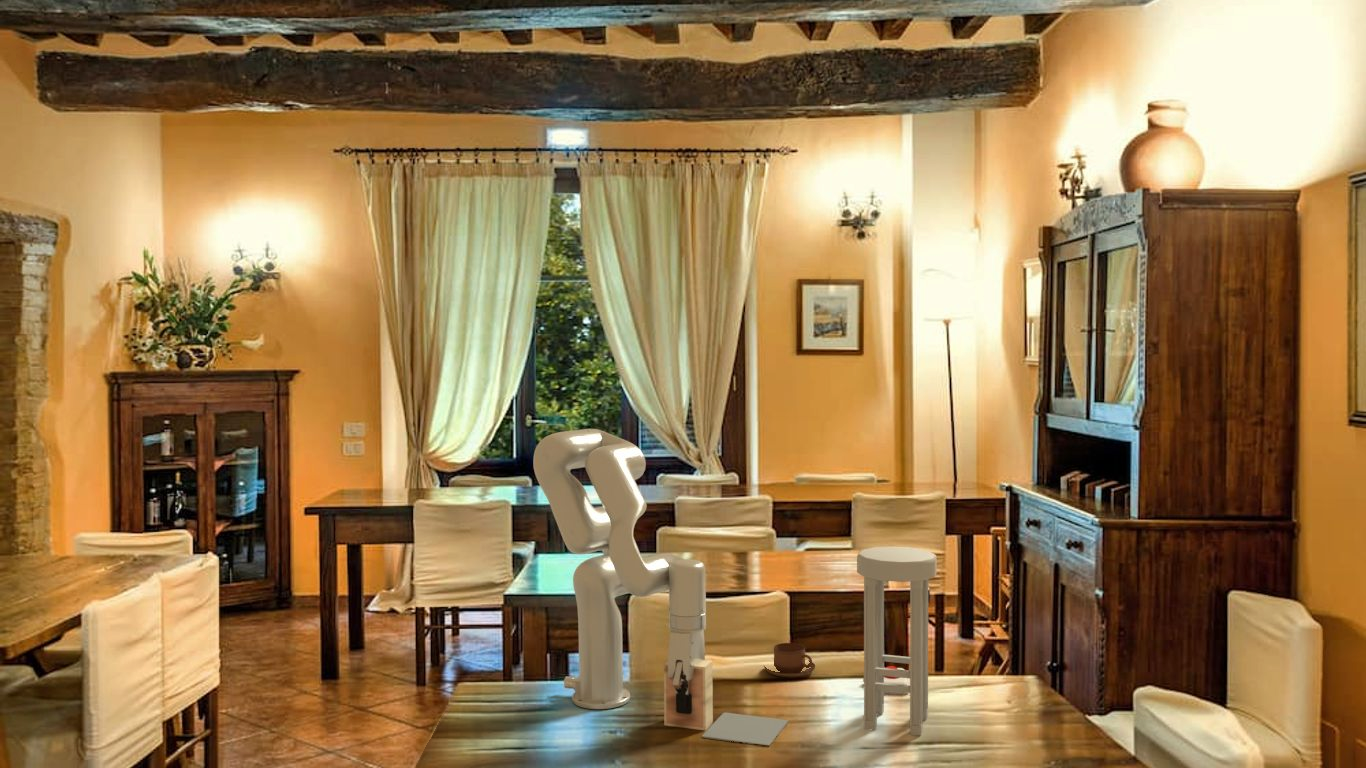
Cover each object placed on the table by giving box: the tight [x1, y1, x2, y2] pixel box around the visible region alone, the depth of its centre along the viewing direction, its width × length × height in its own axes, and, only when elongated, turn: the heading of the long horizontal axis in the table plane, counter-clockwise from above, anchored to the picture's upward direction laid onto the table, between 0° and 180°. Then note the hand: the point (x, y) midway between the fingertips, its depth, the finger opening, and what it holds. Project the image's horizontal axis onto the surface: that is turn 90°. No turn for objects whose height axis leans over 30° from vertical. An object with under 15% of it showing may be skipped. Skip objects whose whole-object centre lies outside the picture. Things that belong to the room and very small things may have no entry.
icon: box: [862, 665, 910, 695], centre depth 243 cm, size 12×4×10 cm
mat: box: [701, 712, 789, 746], centre depth 217 cm, size 14×14×1 cm
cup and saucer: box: [763, 642, 816, 678], centre depth 253 cm, size 12×12×6 cm
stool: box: [856, 545, 938, 736], centre depth 219 cm, size 16×16×35 cm
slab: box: [663, 659, 714, 732], centre depth 220 cm, size 9×4×13 cm, turn 69°
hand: (688, 707), depth 220 cm, fingers closed on slab, 4 cm apart
